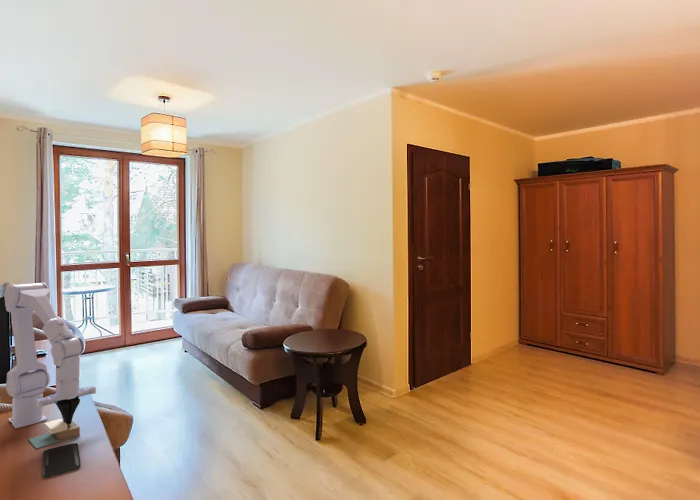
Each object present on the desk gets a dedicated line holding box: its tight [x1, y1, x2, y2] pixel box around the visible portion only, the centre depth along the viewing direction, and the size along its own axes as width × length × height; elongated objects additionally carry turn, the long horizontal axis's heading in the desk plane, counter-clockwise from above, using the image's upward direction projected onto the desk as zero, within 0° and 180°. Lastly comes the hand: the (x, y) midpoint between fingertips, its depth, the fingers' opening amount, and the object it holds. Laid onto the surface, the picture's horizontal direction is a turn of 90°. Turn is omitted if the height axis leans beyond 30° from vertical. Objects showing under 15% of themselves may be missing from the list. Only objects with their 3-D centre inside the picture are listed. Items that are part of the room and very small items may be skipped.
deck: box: [52, 420, 81, 443], centre depth 119 cm, size 8×5×2 cm, turn 52°
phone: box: [41, 442, 82, 479], centre depth 105 cm, size 8×1×15 cm
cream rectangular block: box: [43, 418, 67, 434], centre depth 117 cm, size 6×4×2 cm, turn 52°
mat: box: [28, 432, 59, 450], centre depth 115 cm, size 8×5×1 cm, turn 52°
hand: (67, 423), depth 120 cm, fingers closed
